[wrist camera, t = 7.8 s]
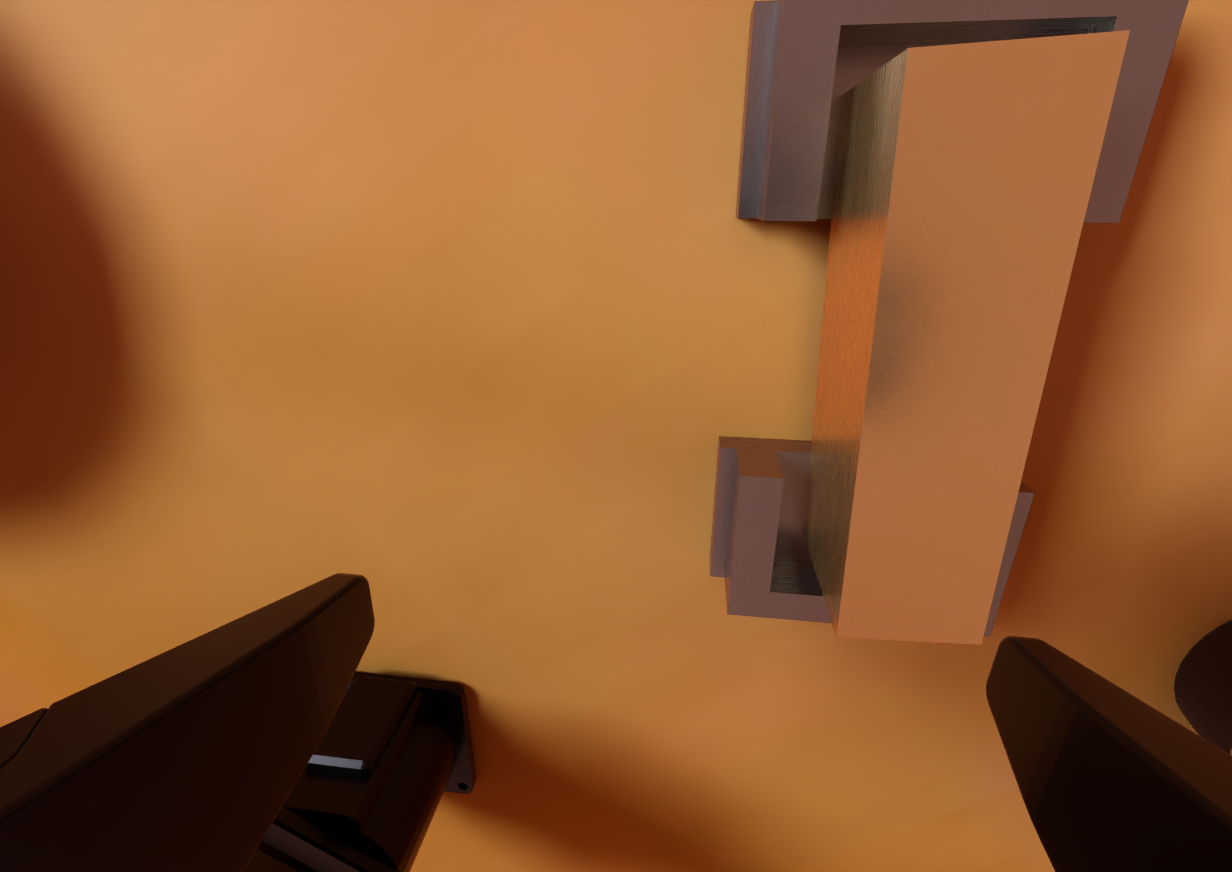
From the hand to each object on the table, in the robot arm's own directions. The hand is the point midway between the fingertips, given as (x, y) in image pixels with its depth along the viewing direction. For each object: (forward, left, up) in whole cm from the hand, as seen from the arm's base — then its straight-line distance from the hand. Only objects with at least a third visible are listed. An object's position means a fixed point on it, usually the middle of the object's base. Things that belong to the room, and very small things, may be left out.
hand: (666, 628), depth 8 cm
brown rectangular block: (+2, -6, -11) cm, 12 cm away
